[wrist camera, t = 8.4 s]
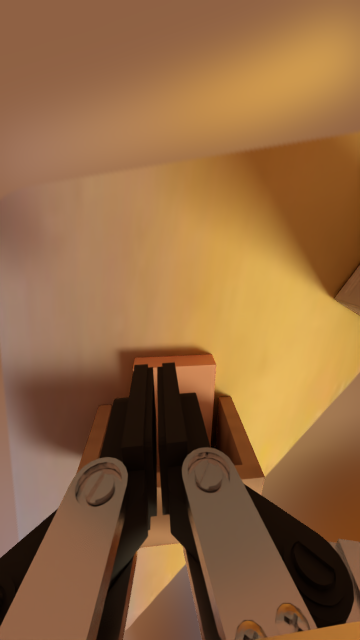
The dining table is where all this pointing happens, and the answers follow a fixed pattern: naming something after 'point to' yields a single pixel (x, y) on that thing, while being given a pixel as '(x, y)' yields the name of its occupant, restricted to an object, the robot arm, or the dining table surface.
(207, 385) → the terracotta tile
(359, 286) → the skincare box
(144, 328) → the dining table surface
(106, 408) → the tan open box
